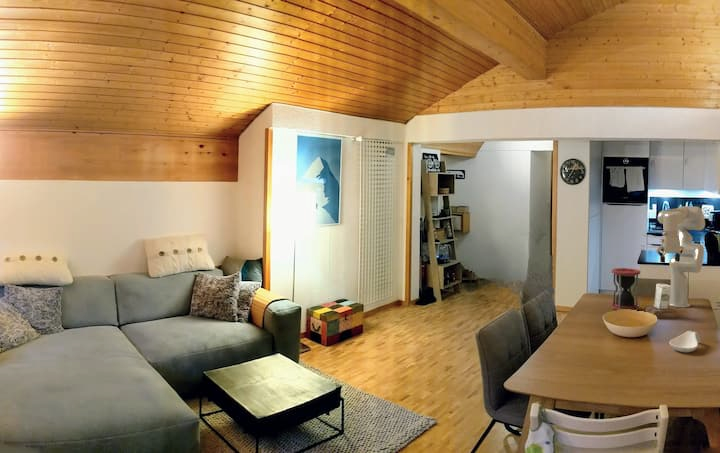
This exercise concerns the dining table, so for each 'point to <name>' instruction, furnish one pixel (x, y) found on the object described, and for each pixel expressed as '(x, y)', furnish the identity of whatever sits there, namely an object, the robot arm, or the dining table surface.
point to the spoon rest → (686, 342)
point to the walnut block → (661, 312)
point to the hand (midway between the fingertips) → (670, 261)
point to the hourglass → (625, 288)
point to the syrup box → (662, 296)
